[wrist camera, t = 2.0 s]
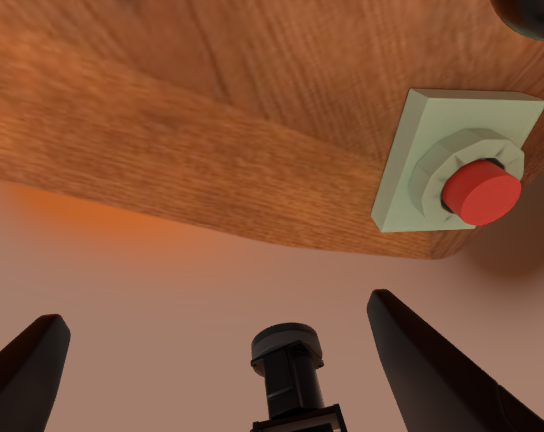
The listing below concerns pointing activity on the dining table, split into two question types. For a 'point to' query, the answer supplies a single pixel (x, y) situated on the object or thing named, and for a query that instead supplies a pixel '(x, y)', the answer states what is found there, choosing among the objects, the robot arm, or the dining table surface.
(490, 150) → the green button base
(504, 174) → the stop button
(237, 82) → the dining table surface
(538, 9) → the switch lever
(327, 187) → the dining table surface
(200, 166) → the dining table surface
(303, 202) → the dining table surface
